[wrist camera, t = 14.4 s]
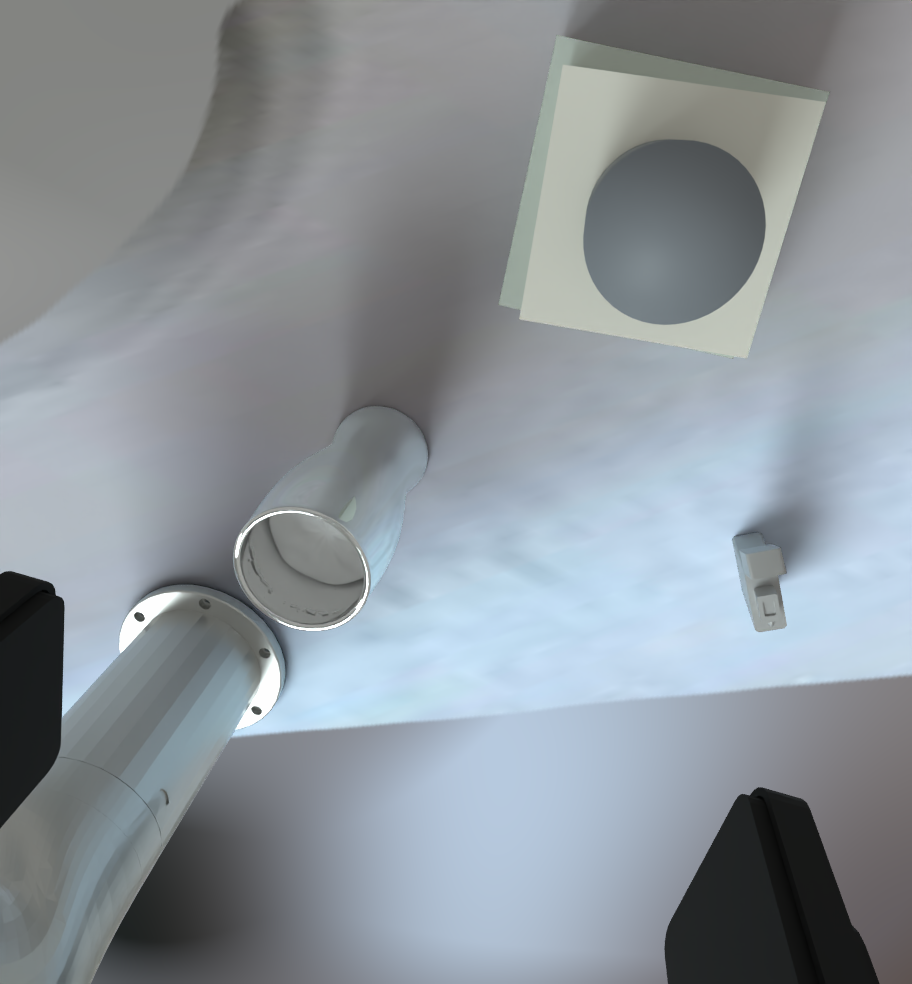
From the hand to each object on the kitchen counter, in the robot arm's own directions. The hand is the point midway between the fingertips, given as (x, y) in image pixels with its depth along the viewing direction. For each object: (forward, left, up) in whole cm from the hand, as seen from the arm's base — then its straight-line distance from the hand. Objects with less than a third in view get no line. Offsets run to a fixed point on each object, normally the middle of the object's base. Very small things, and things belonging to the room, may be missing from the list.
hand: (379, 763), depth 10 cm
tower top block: (+6, -4, -32) cm, 32 cm away
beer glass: (-12, +7, -37) cm, 39 cm away
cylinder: (+6, -4, -27) cm, 27 cm away
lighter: (-12, -16, -37) cm, 42 cm away
